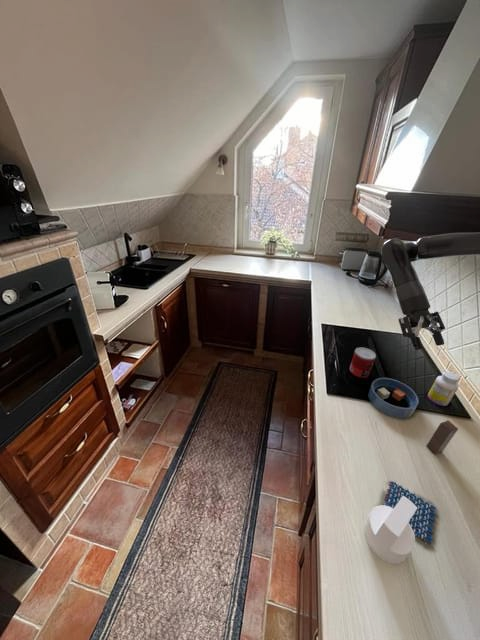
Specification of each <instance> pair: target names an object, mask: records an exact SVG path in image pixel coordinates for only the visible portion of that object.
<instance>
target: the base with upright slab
mask: <svg viewBox="0 0 480 640" xmlns="http://www.w3.org/2000/svg"><path fill="white" fill-rule="evenodd" d="M416 510H417V507H416V506H415V505H414V504H413V503H412V502H411V501H410V500H409V499H407V498H406V497H405V496H402V498H401V499H400V500H399V502H398V503H397V504H396V506H395V507H394V509H393V508H391V507H389V505H388V506H385V504H384V505H383V504H379V505H376V506H374V507H373V508H372V509H371V511H370V512H369V514H368V516H367V518H366V519H365V521H364V524H363V534H364V537H365V540H366V542H367V544H368V546H369V548H370V549H371V550H372V551H373V553H374V554H375V555H376V556H377V557H379V558H380V559H381V560H383V562H386V563H389V564H391V565H392V564H393V565H398V564H401V563H403V562H404V561H405V560H406V559H407V557H408V556H409V555H411V553H412V552H413V551H414V550H415V546H416V536H414V532H413V530H412V528H411V526H410V524H409V523H408V522H409V520H410V519H411V517H412V516H413V514H414V513H415V511H416ZM415 514H416V513H415Z"/></svg>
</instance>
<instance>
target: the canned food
mask: <svg viewBox="0 0 480 640" xmlns="http://www.w3.org/2000/svg"><path fill="white" fill-rule="evenodd" d="M376 358H377V355H376V353H375V352H374V350H372V349H370V348H367V347H362V346H361V347H356V348H355V349H354V352H353V356H352V359H351V362H350V365H349V372H350V373H351V374H352V375H354V376H356V377H357V378H361V379H365V378H368V377H369V376H370V374H371V371H372V368H373V365H374V363H375V360H376Z"/></svg>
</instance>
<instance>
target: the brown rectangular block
mask: <svg viewBox="0 0 480 640" xmlns="http://www.w3.org/2000/svg"><path fill="white" fill-rule="evenodd" d="M458 430H459V428H458V427H457V426H456V425H455V424H453V423H452V422H451V421H449V420H445V421H442V422H440V423H439V425H438V426H437V428H436V430H435V431H434V432H433V435H432V436H431V437H430V439H429V441H428V442H427V444H426V445H425V446H426V448H427V449H428V450H429V451H430V452H431V453H432V454H433V455H434V456H436V455H439V454H441V453H443V452H444V450H445V449H446V448H447V446H448V445H449V443H450V442H451V440H452V439H453V437H454V436H455V435H456V433H457V432H458Z"/></svg>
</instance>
